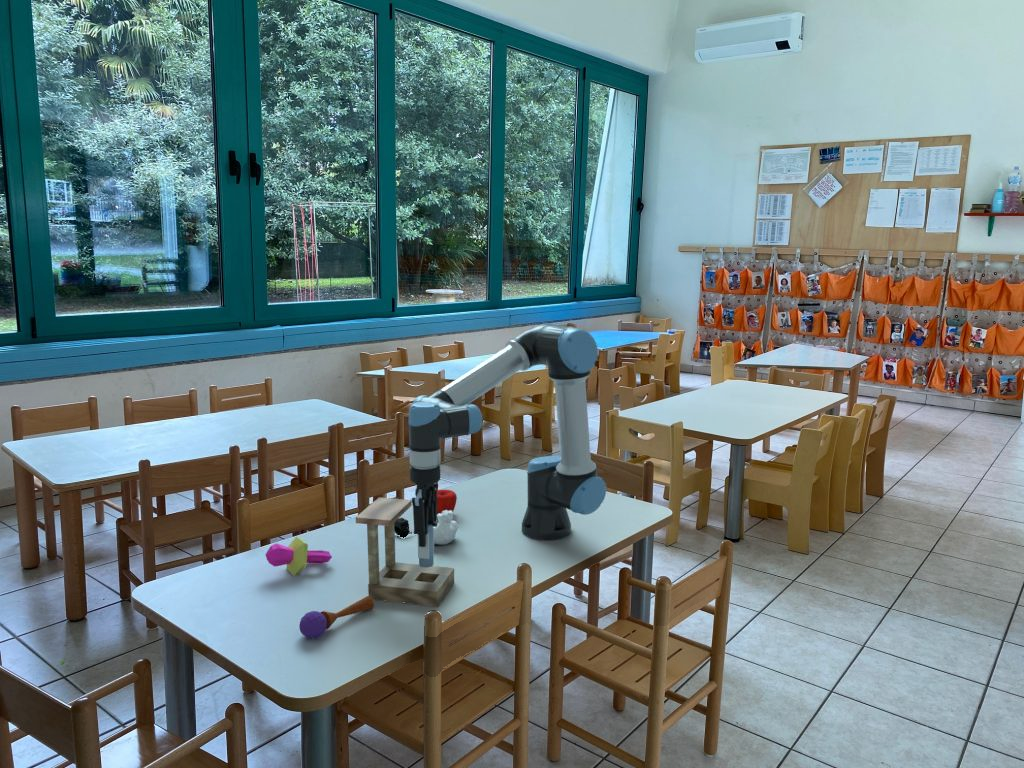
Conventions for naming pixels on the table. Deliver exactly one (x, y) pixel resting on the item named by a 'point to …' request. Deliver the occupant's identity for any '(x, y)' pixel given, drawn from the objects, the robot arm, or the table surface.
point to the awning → (385, 515)
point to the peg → (429, 562)
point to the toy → (295, 555)
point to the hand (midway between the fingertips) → (426, 554)
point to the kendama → (330, 618)
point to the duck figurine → (445, 528)
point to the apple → (445, 500)
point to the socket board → (412, 584)
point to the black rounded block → (402, 527)
